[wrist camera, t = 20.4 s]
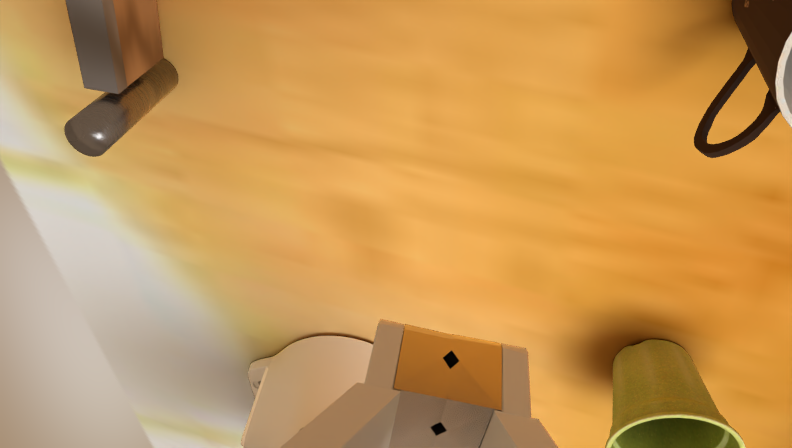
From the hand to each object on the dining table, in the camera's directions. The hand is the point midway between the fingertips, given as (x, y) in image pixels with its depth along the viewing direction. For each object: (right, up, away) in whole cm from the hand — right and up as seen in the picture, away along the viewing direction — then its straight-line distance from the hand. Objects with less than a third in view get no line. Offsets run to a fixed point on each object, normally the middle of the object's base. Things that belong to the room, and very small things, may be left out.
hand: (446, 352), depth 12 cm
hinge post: (-17, +13, +28) cm, 35 cm away
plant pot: (+20, -9, +37) cm, 43 cm away
